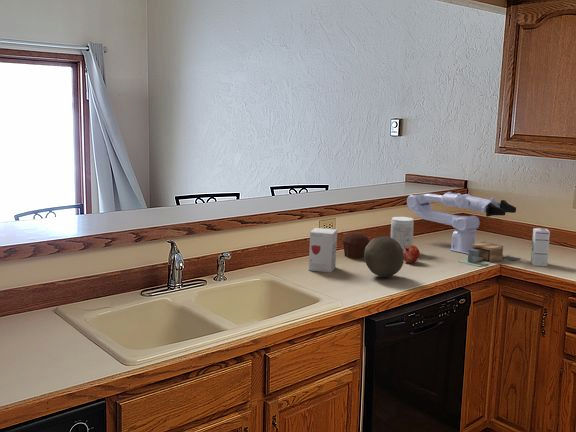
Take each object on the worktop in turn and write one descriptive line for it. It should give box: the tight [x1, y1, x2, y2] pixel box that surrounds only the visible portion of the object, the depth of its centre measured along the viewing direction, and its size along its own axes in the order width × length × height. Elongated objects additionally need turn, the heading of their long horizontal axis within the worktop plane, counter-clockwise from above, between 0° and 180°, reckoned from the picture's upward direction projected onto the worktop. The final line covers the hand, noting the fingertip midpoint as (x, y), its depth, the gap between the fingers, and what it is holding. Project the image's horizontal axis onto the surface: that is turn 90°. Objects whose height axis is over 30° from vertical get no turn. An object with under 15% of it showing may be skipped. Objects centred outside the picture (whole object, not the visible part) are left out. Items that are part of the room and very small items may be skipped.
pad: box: [457, 258, 491, 268], centre depth 252 cm, size 10×9×1 cm
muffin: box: [341, 231, 371, 260], centre depth 257 cm, size 12×11×10 cm
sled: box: [467, 248, 490, 263], centre depth 256 cm, size 5×16×5 cm, turn 133°
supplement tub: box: [390, 216, 415, 250], centre depth 266 cm, size 10×10×15 cm
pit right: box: [502, 255, 522, 262], centre depth 261 cm, size 6×6×1 cm
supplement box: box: [308, 227, 338, 273], centre depth 234 cm, size 9×9×15 cm
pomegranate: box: [403, 244, 421, 265], centre depth 249 cm, size 7×7×10 cm
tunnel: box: [472, 241, 504, 264], centre depth 258 cm, size 9×9×6 cm
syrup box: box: [529, 227, 551, 267], centre depth 251 cm, size 6×6×14 cm
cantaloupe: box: [363, 236, 405, 278], centre depth 225 cm, size 14×14×15 cm
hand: (510, 211), depth 253 cm, fingers open, 7 cm apart
